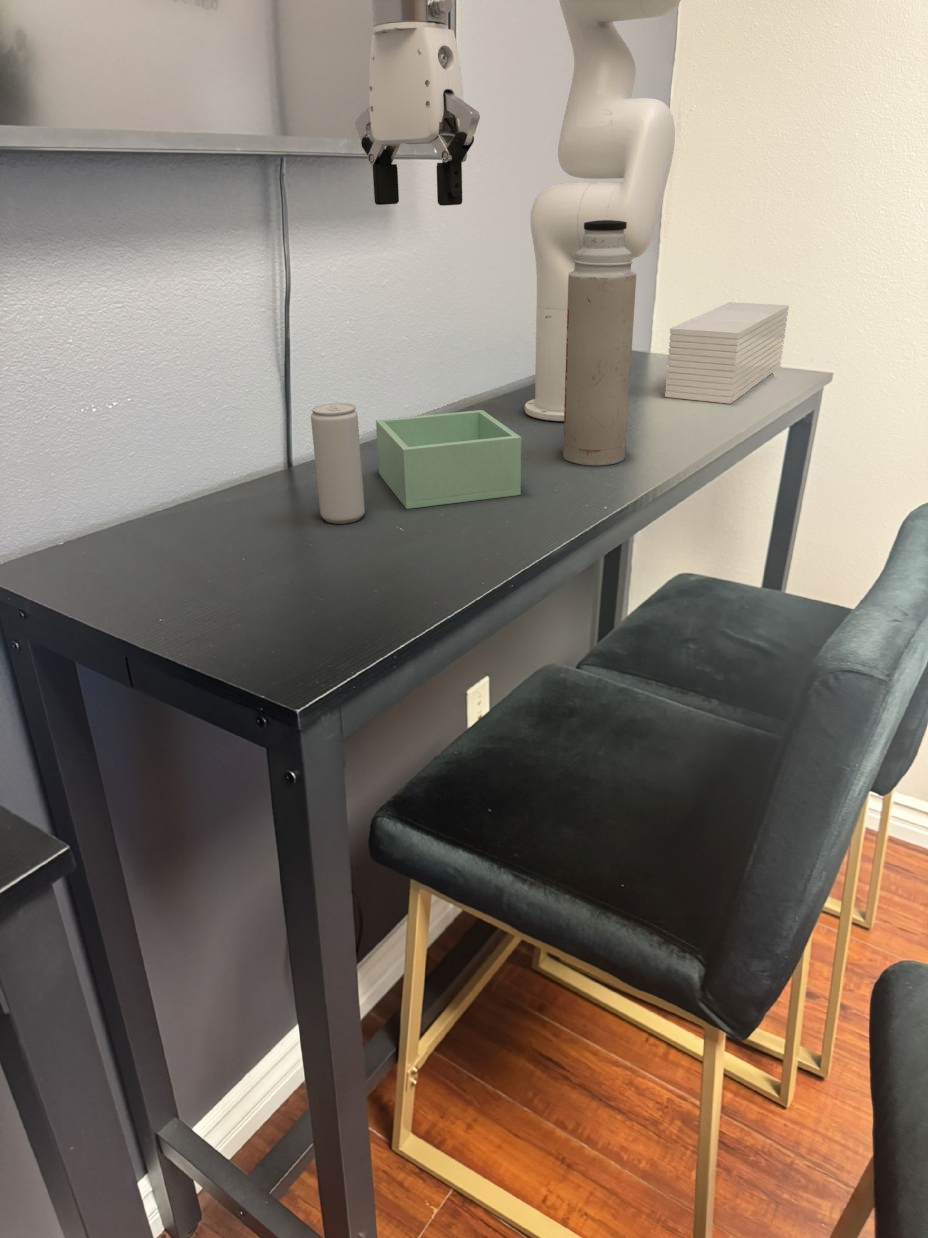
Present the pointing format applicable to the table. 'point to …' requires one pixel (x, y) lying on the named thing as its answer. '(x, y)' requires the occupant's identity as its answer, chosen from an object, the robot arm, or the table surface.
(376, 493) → the table surface
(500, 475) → the open box
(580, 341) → the thermos bottle
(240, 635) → the table surface
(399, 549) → the table surface
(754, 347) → the stack of papers
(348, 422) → the beverage can
